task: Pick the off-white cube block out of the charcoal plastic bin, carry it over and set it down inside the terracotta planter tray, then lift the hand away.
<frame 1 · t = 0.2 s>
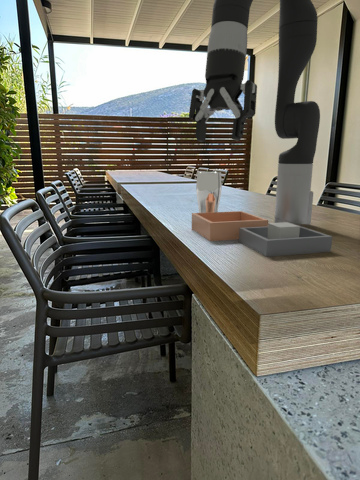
hand: (217, 140, 67), 22 cm above the table, tool pointing down, fingers open, 8 cm apart
charcoal bin: (281, 250, 69), on the table
silver metal tumbler: (208, 226, 95), on the table
terracotta tray: (227, 236, 82), on the table
off-white cube block: (282, 246, 69), point 1 cm above the table, touching charcoal bin
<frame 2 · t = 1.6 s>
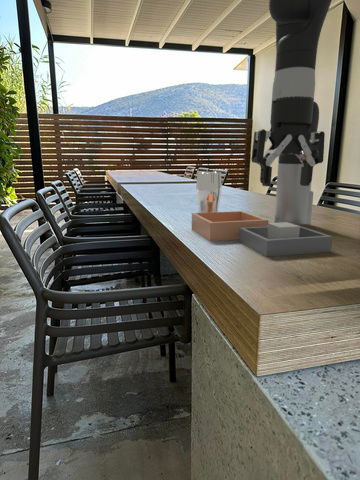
hand: (285, 185, 66), 13 cm above the table, tool pointing down, fingers open, 8 cm apart
nothing on the table moved.
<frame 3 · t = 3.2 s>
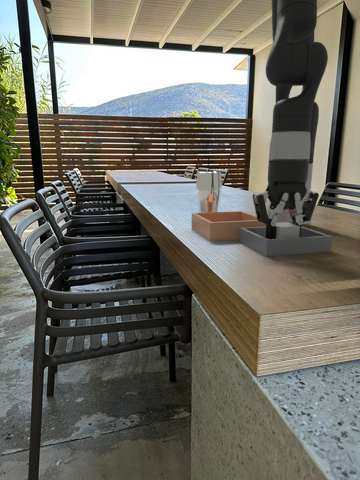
hand: (282, 242, 69), 2 cm above the table, tool pointing down, fingers closed on off-white cube block, 4 cm apart
off-white cube block: (282, 246, 69), point 1 cm above the table, touching charcoal bin, gripper
everything else where it was.
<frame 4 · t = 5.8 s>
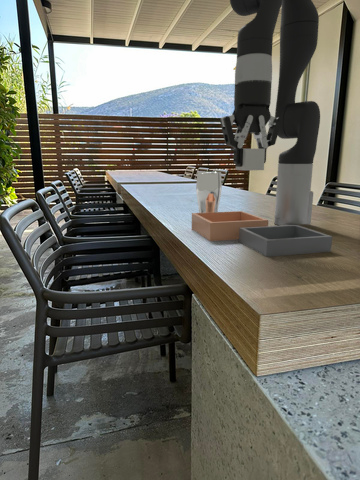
hand: (249, 166, 73), 17 cm above the table, tool pointing down, fingers closed on off-white cube block, 4 cm apart
off-white cube block: (249, 169, 74), point 16 cm above the table, touching gripper
everything else where it was.
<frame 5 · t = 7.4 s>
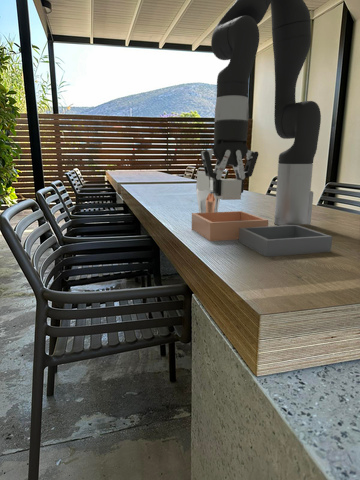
hand: (228, 195, 79), 10 cm above the table, tool pointing down, fingers closed on off-white cube block, 4 cm apart
off-white cube block: (227, 198, 80), point 9 cm above the table, touching gripper
everything else where it was.
when the fingers open (4 cm above the table, at t = 8.7 s): off-white cube block drops 2 cm, resting on terracotta tray.
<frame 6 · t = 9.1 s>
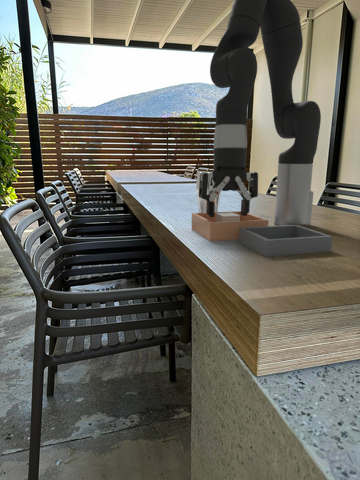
hand: (227, 216, 81), 5 cm above the table, tool pointing down, fingers open, 8 cm apart
off-white cube block: (227, 232, 82), point 1 cm above the table, touching terracotta tray
everything else where it was.
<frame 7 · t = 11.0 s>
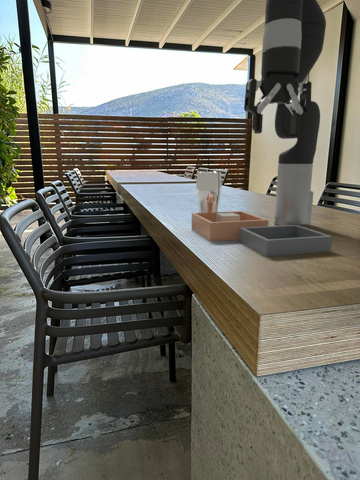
hand: (276, 133, 72), 24 cm above the table, tool pointing down, fingers open, 8 cm apart
nothing on the table moved.
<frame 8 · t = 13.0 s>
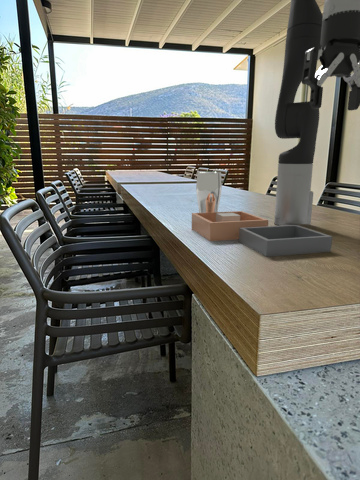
hand: (334, 109, 66), 28 cm above the table, tool pointing down, fingers open, 8 cm apart
nothing on the table moved.
at the end: off-white cube block inside the target area on the terracotta tray (0.0 cm from its centre), point 1.0 cm above the terracotta tray's base; the gripper is holding nothing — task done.
